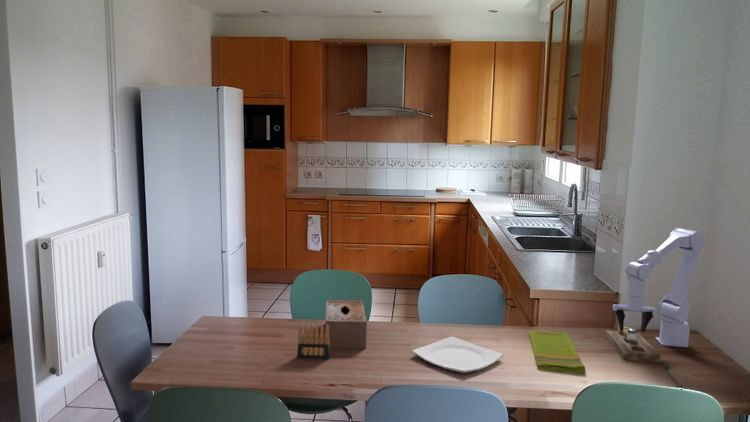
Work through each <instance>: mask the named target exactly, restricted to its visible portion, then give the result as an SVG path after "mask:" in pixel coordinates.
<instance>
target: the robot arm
mask: <svg viewBox="0 0 750 422" xmlns="http://www.w3.org/2000/svg"><path fill="white" fill-rule="evenodd" d="M705 241H706V240H705V237H704V234H703V233H702V232H701V231H698V230H697V231H696V230H691V229H686V228H681V227H675V228H674V229H673V230H672V231H671V232H670V233H669V236H668V238H667V239H665V241H664V242H663V243H662V244H660V245H659V246H658V248H656V249H655V250H654V249H651V250H648V251H647V252H646V253H645V254H644V255H643V256H641V257H640V258H639V259H637V260H636V261H632V262H629V263H628V264H627V266H626V268H625V273H626V277H627V291H626V292H627V293H626V302H625V304H623V303H621V304H620V303H619V304H616V303H615V304H613V303H612V310H613V311H614V312H615V315H616V317H617V321H618V327H619V329H620V330H621V331H623V327H624V322H625V318H626V313H625V312H633V313H641V324H640V331H641V332H642V333H645V332H646V329H647V327H648V325H649V323H650V322H651V320H652V319H653V318H654V314H655V315H656V312H657V314H658V315H659V318H660V328H659V336H655V338H654V339H655V340H657V342H659V344H660V345H661V346H667V347H678V348H679V347H683V348H689V337H690V324H689V323H688V321H687V320H688V318H689V317H690V315H689V314H690V311H689V310H690V307H691V305H690V303H689V302H688V300H687V299H686V297H687V294H688V292H689V288H690V285H691V282H692V279H693V276H694V273H695V271H696V267H697V265H698V262H699V260H700V255H701V253H702V251H703V248H704V244H705ZM676 249H679V251H680V252H681V254H682V256H681V260H680V263H679V264H678V265H679V266H678V268H677V270H676V271H677V272H676V275H675V276H674V280H673V283H672V286H671V289H670V291H669V293H667V294H665V295H663V296H662V299H661V300H660V302H659V303H658V305H657V309H656V308H655V307H654V306H645V305H644V301H645V293H646V292H645V291H646V290H645V289H646V282H647V280H648V279H649V278H650V276H651V274H652V272H653V270H654V269H655V268H656V267H658V266H659V265H660V264H662V262H663V260H664V259H663V258H664V257H665V256H667V255H668V254H669V253H671V252H673V251H674V250H676ZM656 310H657V311H656Z"/></svg>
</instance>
